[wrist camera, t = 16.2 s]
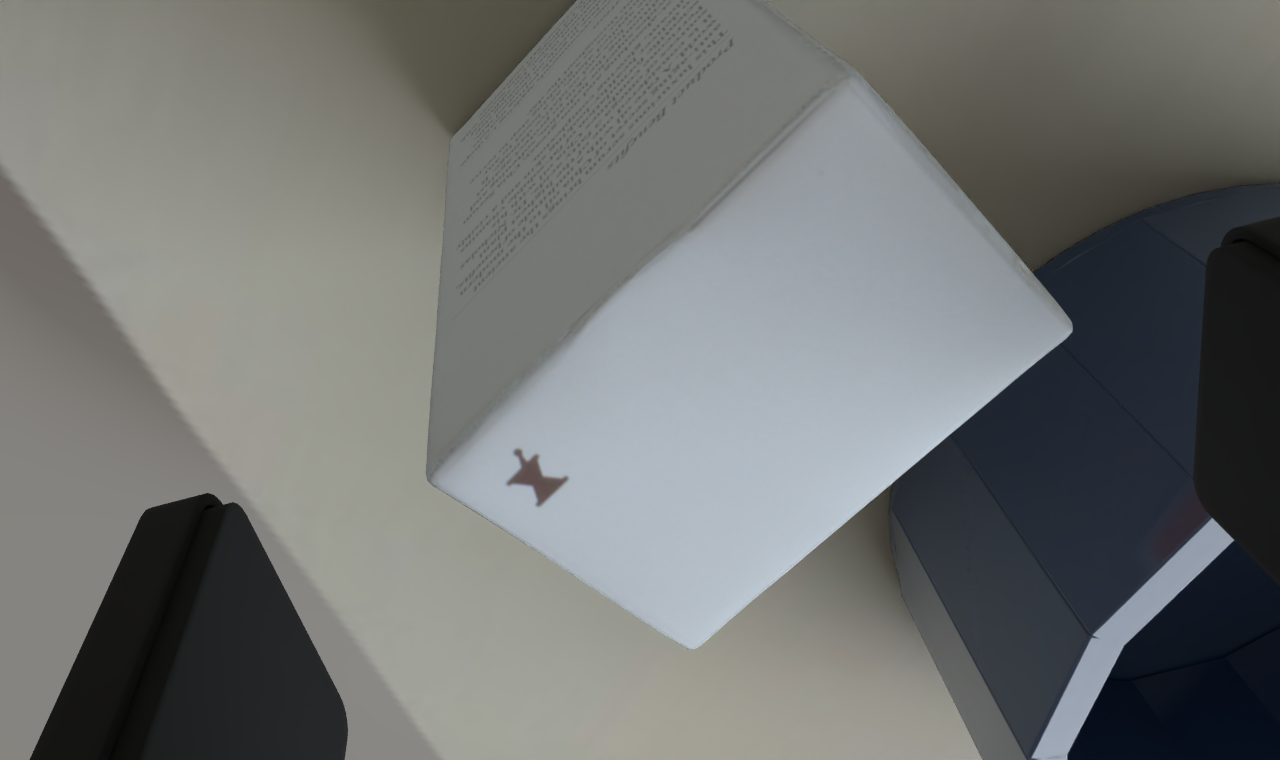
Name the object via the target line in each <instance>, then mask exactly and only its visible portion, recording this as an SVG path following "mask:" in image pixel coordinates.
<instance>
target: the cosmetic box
mask: <svg viewBox="0 0 1280 760" xmlns="http://www.w3.org/2000/svg"><path fill="white" fill-rule="evenodd" d="M1072 330H1073V326H1072V322H1071V320H1070V319H1069V317H1068V316H1067V315H1066V313H1065V312H1064V311H1063V310H1062V308H1061V307H1060V306H1059V304H1058V303H1057V302H1056V301H1055V300H1054V298H1053V297H1052V296H1051V295H1050V294H1049V292H1048V291H1047V290H1046V289H1045V288H1044V286H1043V285H1042V284H1041V283H1040V282H1039V280H1038V279H1037V278H1036V277H1035V276H1034V274H1033V273H1032V272H1031V271H1030V270H1029V268H1028V267H1027V266H1026V265H1025V264H1024V262H1023V261H1022V260H1021V259H1020V258H1019V256H1018V255H1017V254H1016V253H1015V252H1014V250H1013V249H1012V248H1011V247H1010V246H1009V245H1008V243H1007V242H1006V241H1005V240H1004V239H1003V238H1002V236H1001V235H1000V234H999V233H998V232H997V231H996V229H995V228H994V227H993V226H992V225H991V224H990V222H989V221H988V220H987V219H986V218H985V217H984V215H983V214H982V213H981V212H980V211H979V210H978V208H977V207H976V206H975V205H974V204H973V203H972V201H971V200H970V199H969V198H968V197H967V196H966V194H965V193H964V192H963V191H962V190H961V189H960V187H959V186H958V185H957V184H956V183H955V182H954V180H953V179H952V178H951V177H950V176H949V175H948V173H947V172H946V171H945V170H944V169H943V167H942V166H941V165H940V164H939V163H938V162H937V160H936V159H935V158H934V157H933V156H932V155H931V153H930V152H929V151H928V150H927V149H926V148H925V146H924V145H923V144H922V143H921V142H920V141H919V140H918V138H917V137H916V136H915V135H914V134H913V133H912V132H911V130H910V129H909V128H908V127H907V126H906V125H905V124H904V122H903V121H902V120H901V119H900V118H899V117H898V116H897V115H896V113H895V112H894V111H893V110H892V109H891V108H890V107H889V106H888V104H887V103H886V102H885V101H884V100H883V99H882V98H881V97H880V96H879V94H878V93H877V92H876V91H875V90H874V89H873V88H872V87H871V86H870V85H869V83H868V82H867V81H866V80H865V79H864V78H863V77H862V76H861V75H860V74H859V73H858V72H857V71H856V70H855V69H854V68H853V67H852V66H850V65H849V64H848V63H847V62H845V61H844V60H843V59H841V58H840V57H838V56H837V55H835V54H834V53H833V52H831V51H830V50H828V49H827V48H825V47H824V46H822V45H821V44H820V43H819V42H817V41H816V40H815V39H813V38H812V37H811V36H809V35H807V34H806V33H805V32H803V31H802V30H801V29H800V28H798V27H797V26H796V25H794V24H793V23H792V22H790V21H789V20H788V19H787V18H785V17H784V16H783V15H782V14H780V13H779V12H778V11H776V10H775V9H774V8H772V7H771V6H770V5H768V4H767V3H766V2H764V1H763V0H577V1H576V2H575V3H574V4H573V5H572V6H571V7H570V8H569V10H568V11H567V12H566V13H565V14H564V15H563V16H562V17H561V18H560V19H559V20H558V21H557V22H556V23H555V25H554V26H553V27H552V28H551V29H550V30H549V31H548V32H547V33H546V35H545V36H544V37H543V38H542V39H541V40H540V41H539V42H538V44H537V45H536V46H535V47H534V48H533V49H532V50H531V51H530V52H529V53H528V55H527V56H526V57H525V58H524V59H523V60H522V61H521V62H520V63H519V64H518V66H517V67H516V68H515V69H514V70H513V71H512V72H511V73H510V74H509V76H508V77H507V78H506V79H505V80H504V81H503V82H502V84H501V85H500V86H499V87H498V88H497V89H496V90H495V91H494V92H493V93H492V95H491V96H490V97H489V98H488V99H487V100H486V101H485V102H484V103H483V105H482V106H481V107H480V108H479V109H478V110H477V111H476V112H475V113H474V115H473V116H472V117H471V118H470V119H469V120H468V121H467V122H466V124H465V125H464V126H463V127H462V128H461V129H460V130H459V131H458V132H457V133H456V134H455V135H454V136H453V138H452V139H451V140H450V145H449V159H448V171H447V184H446V200H445V217H444V231H443V245H442V256H441V270H440V285H439V297H438V310H437V329H436V340H435V352H434V364H433V376H432V388H431V401H430V418H429V431H428V445H427V464H426V476H427V480H428V482H429V483H430V484H431V485H432V486H434V487H436V488H437V489H439V490H441V491H442V492H444V493H446V494H447V495H449V496H450V497H452V498H454V499H455V500H457V501H458V502H460V503H462V504H463V505H465V506H466V507H468V508H470V509H471V510H473V511H474V512H476V513H478V514H479V515H481V516H482V517H484V518H486V519H487V520H489V521H490V522H492V523H494V524H495V525H497V526H498V527H500V528H502V529H503V530H505V531H506V532H508V533H509V534H511V535H513V536H514V537H516V538H517V539H519V540H520V541H522V542H524V543H525V544H527V545H528V546H530V547H531V548H533V549H534V550H536V551H538V552H539V553H541V554H542V555H544V556H545V557H547V558H548V559H550V560H552V561H553V562H555V563H556V564H558V565H559V566H561V567H562V568H564V569H565V570H566V571H568V572H569V573H571V574H572V575H574V576H575V577H577V578H578V579H580V580H581V581H583V582H584V583H586V584H587V585H589V586H590V587H592V588H593V589H595V590H596V591H598V592H600V593H601V594H603V595H604V596H605V597H607V598H608V599H610V600H611V601H613V602H614V603H616V604H617V605H619V606H620V607H622V608H623V609H625V610H626V611H628V612H629V613H631V614H632V615H634V616H635V617H637V618H638V619H640V620H642V621H643V622H645V623H646V624H648V625H650V626H651V627H653V628H654V629H656V630H658V631H659V632H661V633H662V634H664V635H666V636H667V637H669V638H670V639H672V640H674V641H675V642H677V643H679V644H680V645H682V646H684V647H685V648H687V649H691V650H692V649H695V648H697V647H699V646H701V645H702V644H703V643H704V642H705V641H706V640H708V639H709V638H710V637H711V636H712V635H713V634H714V633H716V632H717V631H718V630H719V629H720V628H721V627H722V626H724V625H725V624H726V623H727V622H728V621H729V620H730V619H732V618H733V617H734V616H735V615H736V614H737V613H739V612H740V611H741V610H742V609H743V608H744V607H746V606H747V605H748V604H749V603H750V602H751V601H753V600H754V599H755V598H756V597H757V596H758V595H760V594H761V593H762V592H763V591H765V590H766V589H767V588H768V587H769V586H771V585H772V584H773V583H774V582H776V581H777V580H778V579H779V578H780V577H782V576H783V575H784V574H785V573H786V572H788V571H789V570H790V569H791V568H792V567H793V566H795V565H796V564H797V563H798V562H799V561H800V560H802V559H803V558H804V557H805V556H806V555H807V554H809V553H810V552H811V551H812V550H813V549H815V548H816V547H817V546H818V545H819V544H821V543H822V542H823V541H824V540H825V539H827V538H828V537H829V536H830V535H831V534H833V533H834V532H835V531H836V530H837V529H839V528H840V527H841V526H842V525H843V524H844V523H846V522H847V521H848V520H849V519H850V518H852V517H853V516H854V515H855V514H856V513H858V512H859V511H860V510H861V509H862V508H863V507H865V506H866V505H867V504H868V503H869V502H871V501H872V500H873V499H874V498H875V497H877V496H878V495H879V494H880V493H881V492H882V491H884V490H885V489H886V488H887V487H888V486H890V485H891V484H892V483H893V482H894V481H895V480H897V479H898V478H899V477H900V476H901V475H903V474H904V473H905V472H906V471H907V470H908V469H910V468H911V467H912V466H913V465H914V464H916V463H917V462H918V461H919V460H920V459H921V458H923V457H924V456H925V455H926V454H927V453H928V452H930V451H931V450H932V449H933V448H934V447H936V446H937V445H938V444H939V443H940V442H942V441H943V440H944V439H945V438H946V437H948V436H949V435H950V434H951V433H952V432H954V431H955V430H956V429H957V428H958V427H960V426H961V425H962V424H963V423H964V422H966V421H967V420H968V419H969V418H970V417H972V416H973V415H974V414H975V413H976V412H978V411H979V410H980V409H981V408H982V407H984V406H985V405H986V404H987V403H988V402H990V401H991V400H992V399H993V398H994V397H996V396H997V395H998V394H999V393H1000V392H1001V391H1003V390H1004V389H1005V388H1006V387H1007V386H1008V385H1010V384H1011V383H1012V382H1013V381H1014V380H1015V379H1017V378H1018V377H1019V376H1020V375H1021V374H1023V373H1024V372H1025V371H1026V370H1028V369H1029V368H1030V367H1031V366H1033V365H1034V364H1035V363H1036V362H1037V361H1039V360H1040V359H1041V358H1042V357H1044V356H1045V355H1046V354H1047V353H1049V352H1050V351H1051V350H1052V349H1054V348H1055V347H1056V346H1058V345H1059V344H1060V343H1061V342H1063V341H1064V340H1065V339H1066V338H1067V337H1068V336H1069V335H1070V334H1071V333H1072Z"/></svg>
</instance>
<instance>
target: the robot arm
mask: <svg viewBox="0 0 1280 760" xmlns="http://www.w3.org/2000/svg"><path fill="white" fill-rule="evenodd" d="M1193 478H1194V486H1195V490H1196V493H1197V496H1198V498H1199V501H1200V502H1201V504H1202V506H1203V508H1204V509H1205V510H1206V512H1207V513H1208V514H1209V515H1210V516H1211V517H1212V518H1213V519H1214V520H1215V521H1216V522H1217V523H1218V524H1219V525H1220V526H1221V527H1222V528H1223V529H1224V530H1225V531H1226V532H1227V533H1228V534H1229V535H1230V536H1231V537H1232V538H1233V539H1234V540H1235V541H1236V542H1237V543H1238V545H1239V546H1240V547H1241V548H1242V549H1243V550H1244V551H1245V552H1246V553H1247V554H1248V555H1249V556H1250V557H1251V558H1252V559H1253V560H1254V561H1255V562H1256V563H1257V564H1258V565H1259V566H1260V567H1261V568H1262V569H1263V570H1264V571H1265V572H1266V573H1267V574H1268V575H1269V576H1270V577H1271V578H1272V579H1273V580H1274V581H1275V582H1276V583H1277V584H1278V585H1279V586H1280V216H1278V217H1274V218H1270V219H1266V220H1262V221H1258V222H1254V223H1251V224H1247V225H1243V226H1239V227H1235V228H1232V229H1231V230H1230V231H1228V232H1227V233H1226V234H1225V236H1224V238H1223V240H1222V242H1221V247H1219V248H1215V249H1214V250H1213V251H1212V252H1211V253H1210V255H1209V257H1208V259H1207V264H1206V273H1205V290H1204V306H1203V323H1202V339H1201V356H1200V372H1199V389H1198V405H1197V422H1196V438H1195V455H1194V471H1193ZM347 736H348V726H347V718H346V712H345V708H344V705H343V702H342V699H341V697H340V695H339V693H338V691H337V689H336V687H335V685H334V683H333V681H332V679H331V678H330V676H329V674H328V672H327V670H326V668H325V666H324V664H323V662H322V660H321V659H320V656H319V654H318V652H317V650H316V648H315V647H314V645H313V643H312V641H311V639H310V637H309V635H308V633H307V631H306V630H305V627H304V626H303V623H302V622H301V619H300V618H299V616H298V614H297V612H296V610H295V608H294V606H293V604H292V602H291V600H290V598H289V596H288V594H287V592H286V591H285V589H284V587H283V585H282V583H281V581H280V579H279V577H278V575H277V573H276V571H275V569H274V567H273V565H272V564H271V562H270V560H269V558H268V556H267V554H266V552H265V550H264V548H263V546H262V544H261V542H260V540H259V538H258V537H257V534H256V533H255V531H254V529H253V527H252V525H251V523H250V521H249V519H248V517H247V515H246V514H245V512H244V510H243V509H242V508H241V507H240V506H239V505H238V504H236V503H233V502H232V503H229V504H225V505H223V504H222V503H221V501H220V500H219V499H218V498H217V497H215V496H214V495H212V494H209V493H206V494H202V495H198V496H195V497H191V498H187V499H183V500H179V501H175V502H171V503H168V504H163V505H160V506H156V507H152V508H149V509H147V510H146V511H145V512H144V513H143V515H142V516H141V518H140V520H139V522H138V524H137V526H136V529H135V531H134V533H133V535H132V538H131V540H130V542H129V544H128V546H127V548H126V551H125V553H124V555H123V557H122V559H121V561H120V564H119V566H118V568H117V570H116V572H115V575H114V577H113V579H112V581H111V583H110V585H109V588H108V590H107V592H106V594H105V597H104V599H103V601H102V603H101V605H100V607H99V610H98V612H97V614H96V616H95V618H94V621H93V623H92V625H91V627H90V629H89V631H88V634H87V636H86V638H85V640H84V642H83V644H82V647H81V649H80V651H79V653H78V655H77V658H76V660H75V662H74V664H73V666H72V669H71V671H70V673H69V675H68V677H67V679H66V682H65V684H64V686H63V688H62V690H61V692H60V695H59V697H58V699H57V701H56V703H55V706H54V708H53V710H52V712H51V714H50V716H49V719H48V721H47V723H46V725H45V727H44V730H43V732H42V734H41V736H40V738H39V740H38V743H37V745H36V747H35V750H34V751H33V754H32V756H31V758H30V760H344V759H345V752H346V745H347Z"/></svg>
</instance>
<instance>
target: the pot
mask: <svg viewBox="0 0 1280 760" xmlns="http://www.w3.org/2000/svg"><path fill="white" fill-rule="evenodd" d="M1278 216H1280V183H1275V184H1259V185H1243V186H1234V187H1229V188H1224V189H1219V190H1213V191H1208V192H1203V193H1198V194H1193V195H1190V196H1187V197H1183V198H1180V199H1177V200H1174V201H1171V202H1167V203H1164V204H1161V205H1158V206H1155V207H1151V208H1149V209H1146V210H1144V211H1142V212H1139V213H1137V214H1135V215H1133V216H1130V217H1128V218H1126V219H1123V220H1121V221H1119V222H1117V223H1114V224H1112V225H1110V226H1107V227H1105V228H1104V229H1102V230H1100V231H1098V232H1097V233H1095V234H1093V235H1091V236H1090V237H1088V238H1086V239H1084V240H1083V241H1081V242H1079V243H1077V244H1075V245H1074V246H1072V247H1070V248H1068V249H1067V250H1065V251H1064V252H1062V253H1061V254H1059V255H1058V256H1057V257H1055V258H1054V259H1052V260H1051V261H1050V262H1048V263H1047V264H1045V265H1044V266H1042V267H1041V268H1040V269H1038V270H1037V271H1035V272H1034V273H1033V274H1034V276H1035V277H1036V278H1037V279H1038V280H1039V282H1040V283H1041V284H1042V285H1043V286H1044V288H1045V289H1046V290H1047V291H1048V292H1049V294H1050V295H1051V296H1052V297H1053V298H1054V300H1055V301H1056V302H1057V303H1058V304H1059V306H1060V307H1061V308H1062V310H1063V311H1064V312H1065V313H1066V315H1067V316H1068V317H1069V319H1070V320H1071V322H1072V326H1073V330H1072V333H1071V334H1070V335H1069V336H1068V337H1067V338H1066V339H1065V340H1064V341H1063V342H1061V343H1060V344H1059V345H1058V346H1056V347H1055V348H1054V349H1052V350H1051V351H1050V352H1049V353H1047V354H1046V355H1045V356H1044V357H1042V358H1041V359H1040V360H1039V361H1037V362H1036V363H1035V364H1034V365H1033V366H1031V367H1030V368H1029V369H1028V370H1026V371H1025V372H1024V373H1023V374H1021V375H1020V376H1019V377H1018V378H1017V379H1015V380H1014V381H1013V382H1012V383H1011V384H1010V385H1008V386H1007V387H1006V388H1005V389H1004V390H1003V391H1001V392H1000V393H999V394H998V395H997V396H996V397H994V398H993V399H992V400H991V401H990V402H988V403H987V404H986V405H985V406H984V407H982V408H981V409H980V410H979V411H978V412H976V413H975V414H974V415H973V416H972V417H970V418H969V419H968V420H967V421H966V422H964V423H963V424H962V425H961V426H960V427H958V428H957V429H956V430H955V431H954V432H952V433H951V434H950V435H949V436H948V437H946V438H945V439H944V440H943V441H942V442H940V443H939V444H938V445H937V446H936V447H934V448H933V449H932V450H931V451H930V452H928V453H927V454H926V455H925V456H924V457H923V458H921V459H920V460H919V461H918V462H917V463H916V464H914V465H913V466H912V467H911V468H910V469H908V470H907V471H906V472H905V473H904V474H903V475H901V476H900V477H899V478H898V479H897V480H895V481H894V482H893V483H892V491H891V499H890V507H889V521H890V542H891V547H892V552H893V556H894V561H895V566H896V570H897V573H898V575H899V578H900V587H901V595H902V597H903V599H904V602H905V604H906V606H907V608H908V610H909V612H910V614H911V616H912V618H913V620H914V622H915V624H916V626H917V628H918V630H919V632H920V634H921V636H922V638H923V640H924V642H925V644H926V646H927V648H928V650H929V652H930V654H931V656H932V658H933V660H934V662H935V664H936V667H937V669H938V671H939V673H940V675H941V677H942V679H943V681H944V683H945V685H946V687H947V689H948V691H949V693H950V695H951V697H952V699H953V701H954V703H955V705H956V707H957V709H958V711H959V713H960V715H961V717H962V719H963V721H964V723H965V725H966V727H967V729H968V731H969V733H970V735H971V737H972V739H973V741H974V744H975V746H976V748H977V750H978V752H979V754H980V756H981V758H982V760H1280V586H1279V585H1278V584H1277V583H1276V582H1275V581H1274V580H1273V579H1272V578H1271V577H1270V576H1269V575H1268V574H1267V573H1266V572H1265V571H1264V570H1263V569H1262V568H1261V567H1260V566H1259V565H1258V564H1257V563H1256V562H1255V561H1254V560H1253V559H1252V558H1251V557H1250V556H1249V555H1248V554H1247V553H1246V552H1245V551H1244V550H1243V549H1242V548H1241V547H1240V546H1239V545H1238V543H1237V542H1236V541H1235V540H1234V539H1233V538H1232V537H1231V536H1230V535H1229V534H1228V533H1227V532H1226V531H1225V530H1224V529H1223V528H1222V527H1221V526H1220V525H1219V524H1218V523H1217V522H1216V521H1215V520H1214V519H1213V518H1212V517H1211V516H1210V515H1209V514H1208V513H1207V512H1206V510H1205V509H1204V508H1203V506H1202V504H1201V502H1200V501H1199V498H1198V496H1197V493H1196V490H1195V486H1194V478H1193V471H1194V455H1195V438H1196V422H1197V405H1198V389H1199V372H1200V356H1201V339H1202V323H1203V306H1204V290H1205V273H1206V264H1207V259H1208V257H1209V255H1210V253H1211V252H1212V251H1213V250H1214V249H1215V248H1219V247H1221V242H1222V240H1223V238H1224V236H1225V234H1226V233H1227V232H1228V231H1230V230H1231V229H1232V228H1235V227H1239V226H1243V225H1247V224H1251V223H1254V222H1258V221H1262V220H1266V219H1270V218H1274V217H1278Z"/></svg>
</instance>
